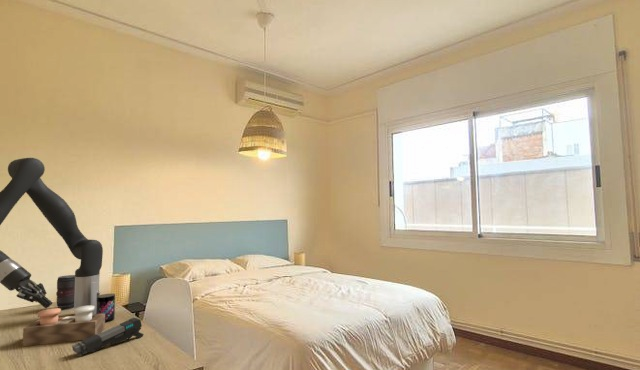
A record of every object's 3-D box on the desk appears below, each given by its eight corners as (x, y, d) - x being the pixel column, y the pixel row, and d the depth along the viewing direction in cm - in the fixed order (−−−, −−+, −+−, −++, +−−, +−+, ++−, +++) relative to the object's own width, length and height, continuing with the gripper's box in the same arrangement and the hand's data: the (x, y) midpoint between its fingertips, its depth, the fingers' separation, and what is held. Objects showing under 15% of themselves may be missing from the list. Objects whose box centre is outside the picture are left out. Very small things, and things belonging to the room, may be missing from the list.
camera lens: (69, 310, 160) (70, 277, 161) (51, 310, 160) (52, 278, 160) (81, 305, 168) (81, 274, 169) (64, 305, 168) (65, 274, 169)
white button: (96, 323, 131) (97, 304, 131) (90, 329, 124) (90, 309, 125) (77, 325, 129) (77, 306, 129) (69, 331, 123) (69, 311, 123)
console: (104, 329, 133) (105, 312, 133) (95, 338, 123) (95, 320, 123) (38, 335, 127) (38, 318, 127) (22, 346, 117) (23, 326, 118)
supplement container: (91, 323, 140) (92, 297, 141) (103, 317, 147) (104, 293, 148) (107, 323, 139) (107, 297, 140) (118, 318, 146) (118, 293, 147)
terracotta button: (63, 326, 128) (64, 307, 128) (55, 332, 121) (55, 312, 122) (43, 328, 126) (43, 309, 127) (33, 334, 120) (33, 314, 120)
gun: (147, 336, 123) (137, 312, 121) (87, 376, 108) (75, 349, 106) (141, 333, 126) (132, 310, 124) (82, 372, 111) (70, 345, 109)
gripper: (8, 269, 117) (49, 302, 119) (30, 263, 129) (66, 293, 132) (-12, 286, 115) (30, 319, 117) (12, 278, 128) (50, 308, 130)
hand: (49, 305), depth 124 cm, fingers closed
